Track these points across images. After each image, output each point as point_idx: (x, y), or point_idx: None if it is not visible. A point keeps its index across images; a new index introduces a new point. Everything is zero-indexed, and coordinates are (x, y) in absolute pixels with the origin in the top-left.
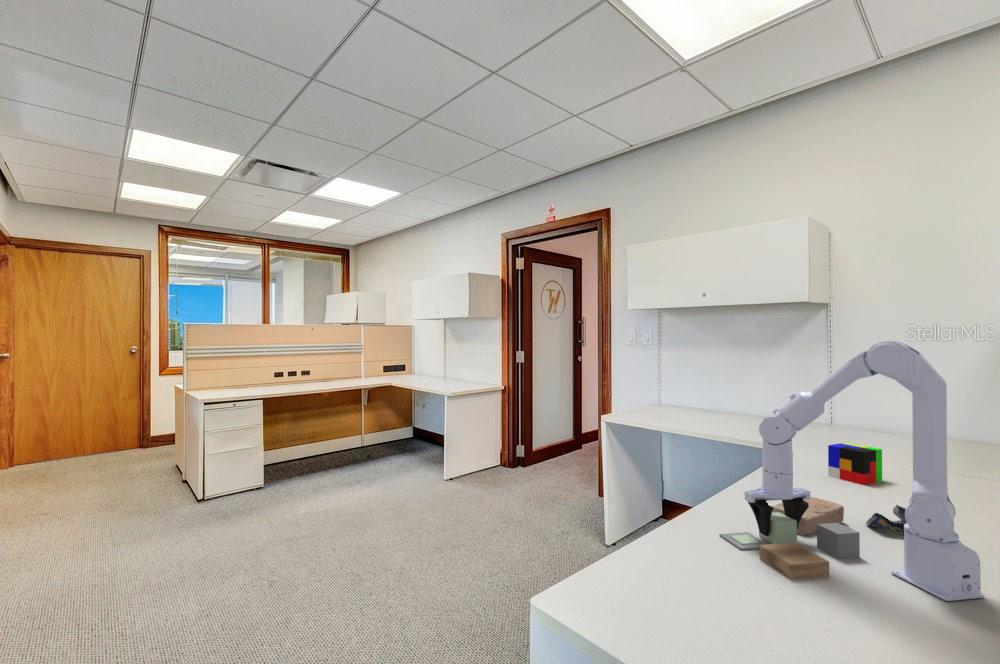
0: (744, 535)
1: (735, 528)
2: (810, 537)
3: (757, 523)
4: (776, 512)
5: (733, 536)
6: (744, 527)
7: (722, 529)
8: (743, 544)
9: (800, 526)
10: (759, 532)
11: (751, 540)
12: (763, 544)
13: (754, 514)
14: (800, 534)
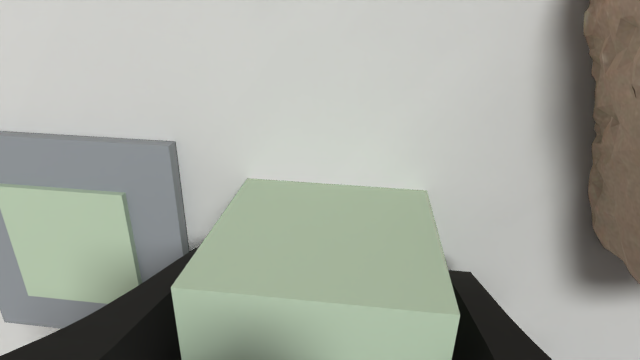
0: (98, 204)
1: (132, 17)
2: (619, 285)
3: (150, 280)
4: (416, 313)
5: (10, 203)
6: (227, 10)
7: (9, 17)
8: (37, 294)
9: (634, 274)
10: (239, 193)
11: (106, 275)
12: None
13: (71, 329)
14: (597, 233)
